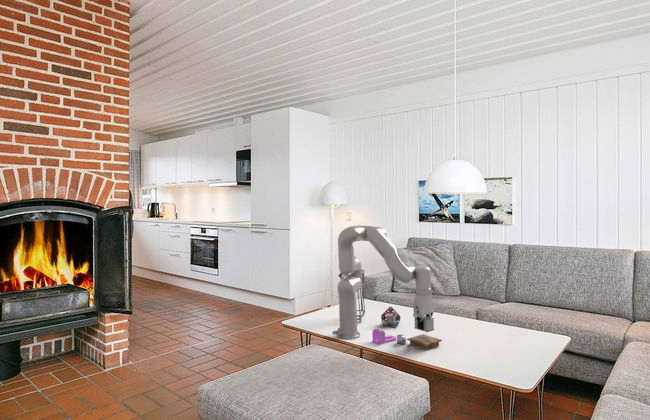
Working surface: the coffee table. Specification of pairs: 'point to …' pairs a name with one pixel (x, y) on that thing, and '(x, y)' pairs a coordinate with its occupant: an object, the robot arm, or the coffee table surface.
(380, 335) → the bracket
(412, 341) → the stand
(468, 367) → the coffee table surface
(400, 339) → the knob
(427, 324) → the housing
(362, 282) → the geometric lantern
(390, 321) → the brake caliper
